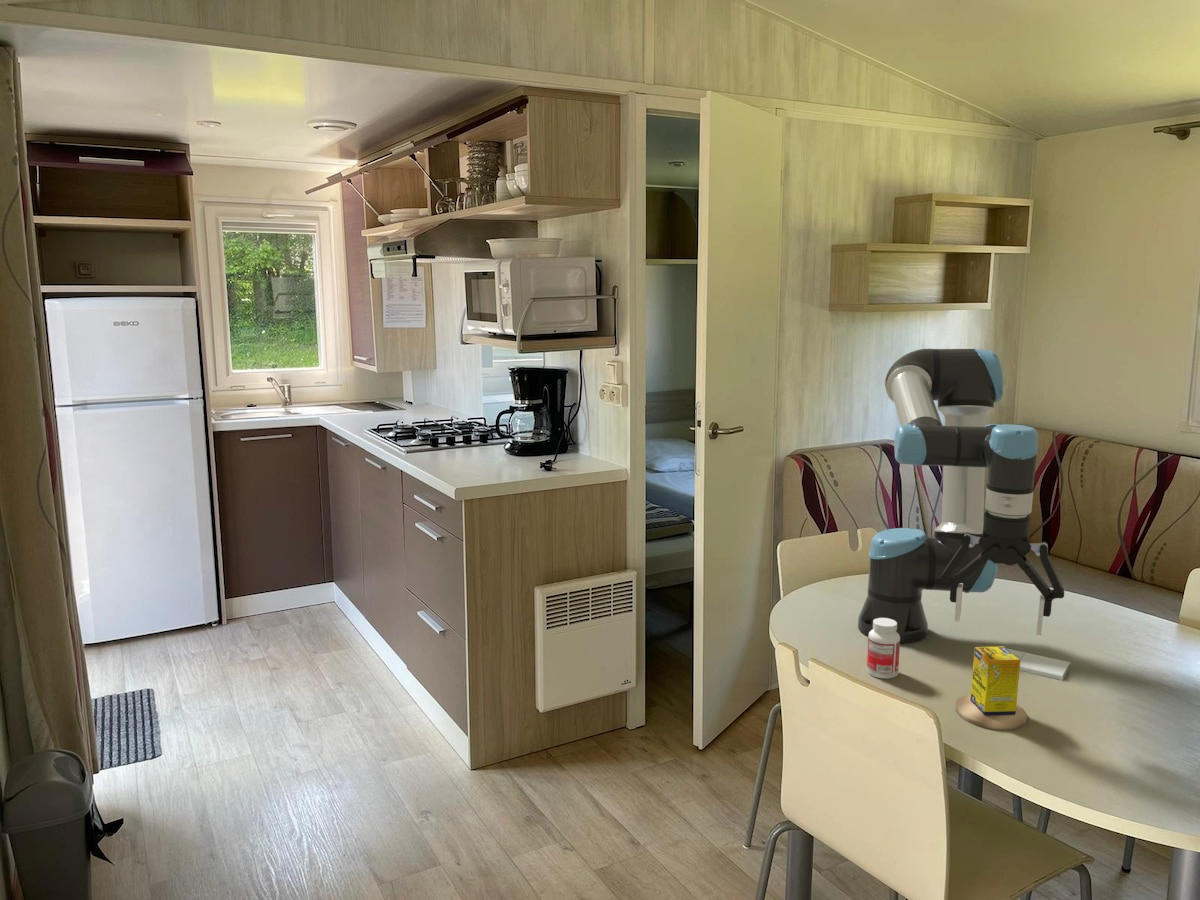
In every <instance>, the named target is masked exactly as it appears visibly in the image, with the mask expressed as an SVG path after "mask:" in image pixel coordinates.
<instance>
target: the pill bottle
mask: <svg viewBox="0 0 1200 900" xmlns="http://www.w3.org/2000/svg"><path fill="white" fill-rule="evenodd" d="M896 631H897V622H896V621H895V620H892V619H889V618H877V619H874V620H873V630H871V631H870V632H869V636H867V637H868V638H867V639H868V641H867V657H866V658H867V659H866V660H867V661H866V670H867V671H866V672H868V674H869V675H870V676H872V677H875V678H878V679H893V678H895V677H897V676H898V674H899V667H900V646H901V643H900V636H899V634H898V633H897V632H896Z"/></svg>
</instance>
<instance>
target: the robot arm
mask: <svg viewBox="0 0 1200 900" xmlns="http://www.w3.org/2000/svg"><path fill="white" fill-rule="evenodd" d="M884 381H885V382H884V386H885V391H886V393H887V396H888V398H889V399H890V400H891V401H892V402H893V403H894V406H895V410H896V414H897V417H898V420H899V425H898V427H897V428H896V429H895V433H894V443H893V445H894V446H893V447H894V458H895V461H896V462H897V463H898V464H901V465H911V466H915V467H919V466H928V467H929V466H934V467H937V466H938V467H942V466H943V470H942V472H943V473H942V501H941V502H942V503H941V505H942V509H941V522H940V524H939V525H938V526H937V527H935V528H934V534H933V537H927V535H926V532H925V531H924V530H921V529H918V528H910V527H897V528H896V527H895V528H890V529H884V530H882V531H879V532H877V533H875V534H874V535H873V536H872V538H871V542H870V547H869V553H868V557H869V564H868V565H869V567H868V569H869V570H868V582H867V583H868V584H867V596H866V599H865V601H864V603H863V605H862V608H861V610H860V613H859V615H858V619H857V622H858V623H857V628H858V630H859V631H860V632H861V633H862V634H863V635H865V636H867V637H868V636H869V632H870V631H871V630H873V620H874V619H877V618H889V619H892V620H895V621H896V622H897V631H896V632H897V633H898V634H899V636H900V644H908V643H909V644H910V643H917V642H920V641H922V640H924V639H925V638H927V637H928V629H929V627H928V621H927V617H926V614H925V611H924V607H923V601H922V594H923V590H925V591H927V590H928V591H929V590H930V591H939V592H940V591H941V592H949V601H950V602H951V603H955V611H954V622H960V619H961V612H962V602H963V600H962V599H963V593H965V594H969V593H986V592H988V591H989V590H990V589H991V587H992V586H993V584H994V582H995V580H996V577H997V572H998V568H999V564H1004V565H1007V566H1013V565H1016V564H1017V565H1018V567H1019V568H1020V569H1021V570H1022V571H1023V572H1024V574H1025V575H1026V576H1027V578H1028V579H1029V580H1030V581H1031V582H1032V583H1033V584H1034V586H1035V588H1036V589H1037V590H1038V592H1039V593H1040V595H1039V604H1038V614H1037V624H1036V635H1040V636H1042V629H1043V620H1044V617H1047V618H1048V617H1050V616H1051V613H1052V605H1053V604H1052V603H1053V600H1055V599H1063V598H1064V597H1065V589H1064V587H1063V585H1062V582H1061V579H1060V577H1059V576H1058V574H1057V571H1056V568H1055V566H1054V564H1053V562H1052V560H1051V557H1050V556H1049V555H1050V554H1049V546H1048V542H1046V541H1041V542H1040V543H1039V542H1036V543H1035V542H1034V543H1033V542H1031V541H1030V532H1031V531H1030V529H1031V528H1030V527H1031V519H1032V518H1031V516H1030V515H1029V514H1031V513H1032V511H1033V510H1032V508H1033V498H1034V487H1035V485H1034V484H1035V475H1036V466H1037V456H1038V451H1039V445H1038V443H1039V442H1038V441H1039V439H1038V438H1039V433H1038V430H1036V428H1034V427H1033V426H1032V427H1031V426H1027V425H1024V424H1023V425H1022V424H1014V423H1013V424H1011V423H1006V424H1005V423H1004V424H998V423H989V424H987V416H988V415H990V414H991V413H992V412H993V411H994V405H995V403H999V402H1000V401H1001V400H1002V397H1003V395H1004V394H1003V393H1004V390H1003V389H1004V376H1003V369H1002V364H1001V361H1000V359H999V357H998V355H997V354H996V353H995V352H994V351H993V350H989V349H976V348H921V349H916V350H913V351H910V352H908V353H906V354H905V355H902V356H901V357H899V358H898V359H897V360H895V362H894V363H893V364H892V365H891V367H890V368H889V369H888V371H887V373H886V375H885V380H884ZM935 401H936V402H937V406H936V404H935ZM938 411H939V412H940V413H941V414H942V416H944V425H943V423H942V420H941V418H940V413H939V412H938ZM986 468H987V482H986V488H985V473H986V471H985V470H986ZM985 489H986V491H985ZM985 509H986V511H985V512H984V510H985ZM1030 551H1033V552H1034V554H1035V555H1036V556H1037V557H1039V559H1040V561H1041V565H1042V566H1043V569H1044V571H1045V573H1046V575H1047V577H1048V578H1047V579H1049V583H1050V584H1051V586H1052V588H1053V589H1051V588H1050V586H1048V584H1047V583H1046V582H1045V580H1044V578H1042V576H1041V575H1040V573H1038V571H1037V570H1036V569H1035V568H1034V567H1033V565H1032V564H1031V562H1030V560H1029V559H1028V558H1027V554H1029V553H1030Z"/></svg>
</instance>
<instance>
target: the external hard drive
mask: <svg viewBox="0 0 1200 900" xmlns="http://www.w3.org/2000/svg"><path fill="white" fill-rule="evenodd" d="M1007 649H1008V650H1009V651H1010V652H1011V653H1012V654H1013V655H1014V656H1016V657H1017V658H1018V659H1020V660H1021V661H1020V672H1022V671H1023V672H1025V673H1026V672H1027V673H1030V674H1034V675H1039V676H1042V677H1048V678H1052V679H1055V680H1060V681H1063V680H1064V679H1065V676H1066V674H1067V673H1068V670H1069V669H1070V668H1071V662H1070V661H1066V660H1061V659H1058V658H1051V657H1046V656H1044V655H1043V656H1042V655H1038V654H1033V653H1029V652H1024V651H1019V650H1015V649H1009V648H1007Z"/></svg>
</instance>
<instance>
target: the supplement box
mask: <svg viewBox="0 0 1200 900" xmlns="http://www.w3.org/2000/svg"><path fill="white" fill-rule="evenodd" d="M973 649H974V650H973V665H972V677H971V690H970V695H971V698H970V701H971V702H972V703H974V704H975V705H976V706H977V707H978V708H979V710H980V711H981V712H982V713H983V714H984V715H985V716H992V715H1015V714H1016V704H1018V703H1017V702H1018V701H1017V700H1018V691H1019V679H1020V672H1021V670H1020V661H1021V660H1020V659H1018V658H1017V657H1016V656H1014V655H1013V654H1012V653H1011V652H1010V651H1009V650H1008V649H1009V648H1007V647H1006V646H976V647H974V648H973Z"/></svg>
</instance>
